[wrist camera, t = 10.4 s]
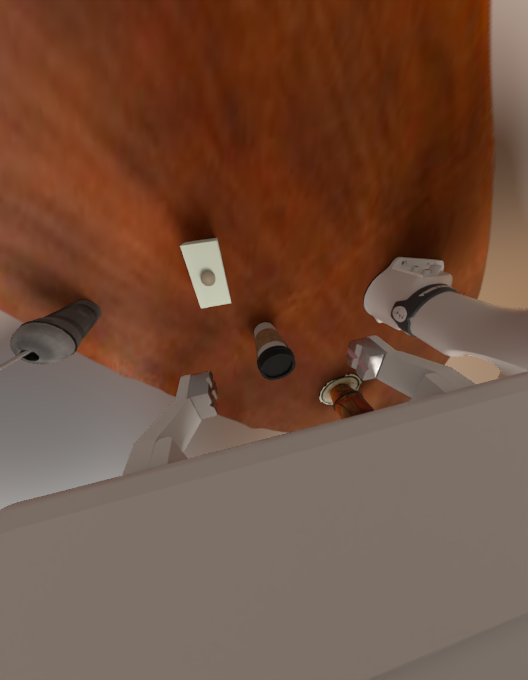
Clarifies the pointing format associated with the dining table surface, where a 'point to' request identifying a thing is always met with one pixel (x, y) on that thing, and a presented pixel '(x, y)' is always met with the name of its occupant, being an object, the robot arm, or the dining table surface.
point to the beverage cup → (53, 334)
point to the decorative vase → (345, 396)
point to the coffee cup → (272, 353)
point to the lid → (206, 272)
